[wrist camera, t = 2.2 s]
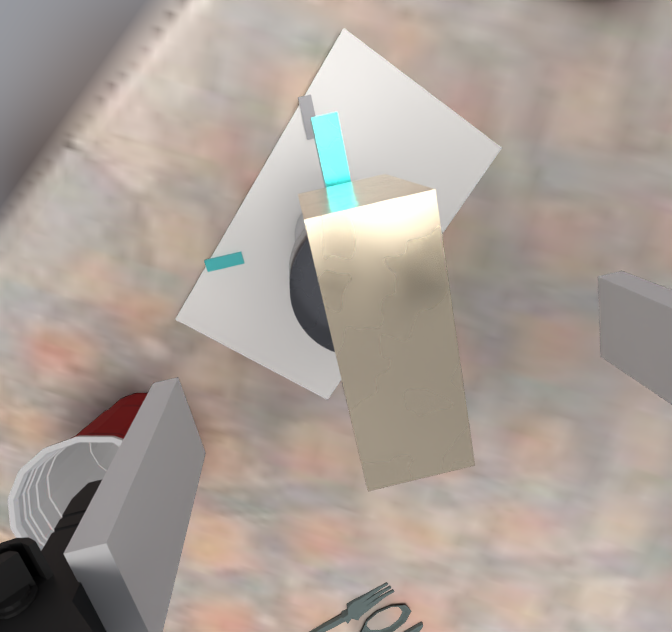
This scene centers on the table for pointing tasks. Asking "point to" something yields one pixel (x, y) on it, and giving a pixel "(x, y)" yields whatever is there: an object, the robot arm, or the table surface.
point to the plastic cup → (67, 471)
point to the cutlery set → (363, 605)
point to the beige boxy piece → (382, 315)
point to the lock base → (305, 175)
